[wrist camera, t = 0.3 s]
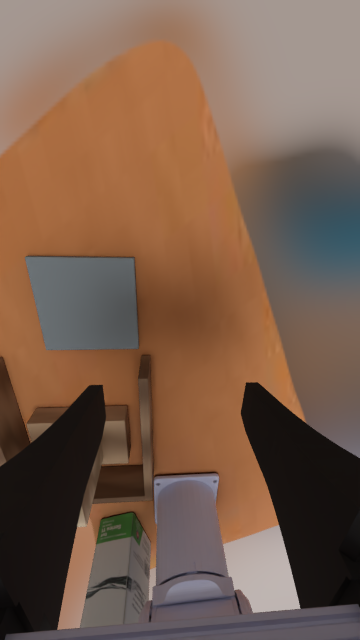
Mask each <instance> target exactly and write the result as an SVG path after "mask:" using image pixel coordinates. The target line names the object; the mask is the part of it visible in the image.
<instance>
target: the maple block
mask: <svg viewBox="0 0 360 640" xmlns="http://www.w3.org/2000/svg"><path fill="white" fill-rule="evenodd" d="M102 461H103V452H102V446H101V443H100V446H99V449H98V453H97V456H96V459H95V462H94V465H93V468H92V471H91V474H90V477H89V481H88V484H87V487H86V491H85V494H84V498H83V502H82V507H81V511H80V516H79V520H78V525H77V527H86V526H87V523H88V519H89V515H90V511H91V506H92V502H93V498H94V494H95V490H96V486H97V482H98V478H99V473H100V469H101V465H102Z"/></svg>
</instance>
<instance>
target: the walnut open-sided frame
mask: <svg viewBox="0 0 360 640" xmlns="http://www.w3.org/2000/svg"><path fill="white" fill-rule="evenodd" d="M138 385H139V402H140V420H141V438H142V456H143V465H131V466H109V467H101V469H100V473H99V478H98V482H97V486H96V490H95V494H94V498H93V502H92V504H98V503H116V502H134V501H152V500H153V474H154V463H153V430H152V397H151V364H150V355H142V356H141V363H140V370H139V377H138ZM68 408H69V407H56V408H36V410H35V411H34V413H33V414H32V416H31V418H30V419H29V421H28V422H27V427H28V431H29V434H30V437H31V440H32V442H33V441H34V440H35V439H37V438H38V437H39V436H40V435H41V434H42V433H43V432H44V431H45V430H47V429H48V428H49V427H50V426H51V425H52V424H53V423H54V422H55V421H56V420H57V419H58V418H59V417H60V416H61V415H62V414H63V413H64V412H65V411H66V410H67V409H68ZM105 410H106V421H105V426H104V431H103V436H102V440H101V446H102V452H103V461H102V464H120V463H129V455H130V448H131V444H130V432H129V419H128V407H127V405H126V406H105ZM29 444H30V442H29V438H28V435H27V432H26V429H25V426H24V423H23V420H22V417H21V413H20V410H19V407H18V404H17V401H16V398H15V395H14V391H13V388H12V385H11V382H10V379H9V376H8V373H7V370H6V366H5V363H4V360H3V357H0V466H1V465H3V464H4V463H6V462H7V461H8V460H10V459H11V458H13V457H14V456H15V455H17V454H18V453H19V452H21V451H22V450H23V449H24V448H26V447H27V446H28V445H29Z"/></svg>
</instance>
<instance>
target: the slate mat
mask: <svg viewBox="0 0 360 640" xmlns="http://www.w3.org/2000/svg"><path fill="white" fill-rule="evenodd" d="M25 260H26V264H27V268H28V273H29V277H30V281H31V286H32V290H33V294H34V299H35V303H36V307H37V312H38V316H39V320H40V325H41V329H42V333H43V338H44V342H45V346H46V350H94V349H139V336H138V317H137V297H136V278H135V258H134V257H73V256H26V257H25Z"/></svg>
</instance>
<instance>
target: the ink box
mask: <svg viewBox="0 0 360 640" xmlns="http://www.w3.org/2000/svg"><path fill="white" fill-rule="evenodd" d="M150 553H151V542H150V541H149V539H148V537H147V535H146V533H145V532H144V530H143V528H142V526H141V525H140V523H139V521H138V519H137V517H136V516H135V514H134V513H132V512H131V513H127V514H122V515H118V516H113V517H109V518H105V519H102V520H101V522H100V527H99V533H98V538H97V543H96V548H95V553H94V558H93V563H92V568H91V574H90V580H89V584H88V589H87V594H86V599H85V604H84V609H83V614H82V619H81V625H80V628H86V627H97V626H109V625H120V624H132V623H138V619H139V615H140V612H141V611H142V609H143V607H144V605H145V603H146V601H148V600H149V576H150Z"/></svg>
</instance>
